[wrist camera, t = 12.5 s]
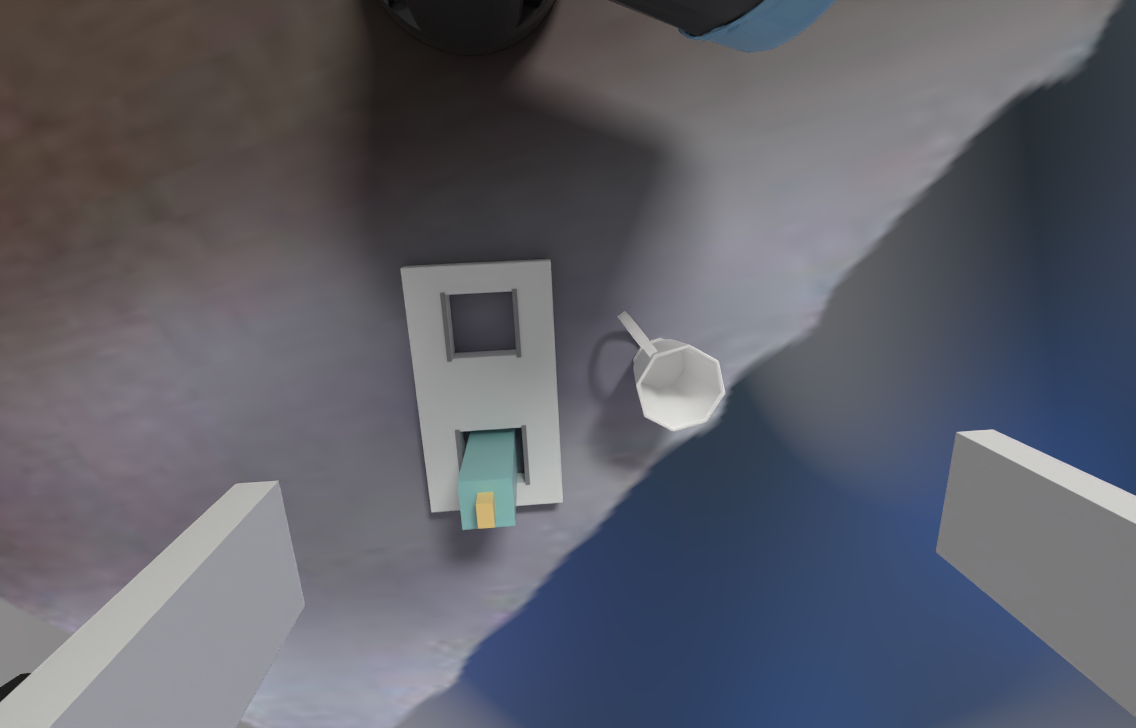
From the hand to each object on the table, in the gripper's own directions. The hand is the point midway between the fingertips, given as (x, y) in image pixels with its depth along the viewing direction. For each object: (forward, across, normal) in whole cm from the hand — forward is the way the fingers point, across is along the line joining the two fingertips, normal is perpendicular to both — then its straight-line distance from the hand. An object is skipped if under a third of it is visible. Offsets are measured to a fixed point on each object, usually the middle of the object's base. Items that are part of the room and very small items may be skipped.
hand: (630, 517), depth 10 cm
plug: (+37, -6, -15) cm, 40 cm away
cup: (+37, +8, -6) cm, 38 cm away
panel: (+37, -6, -9) cm, 38 cm away
